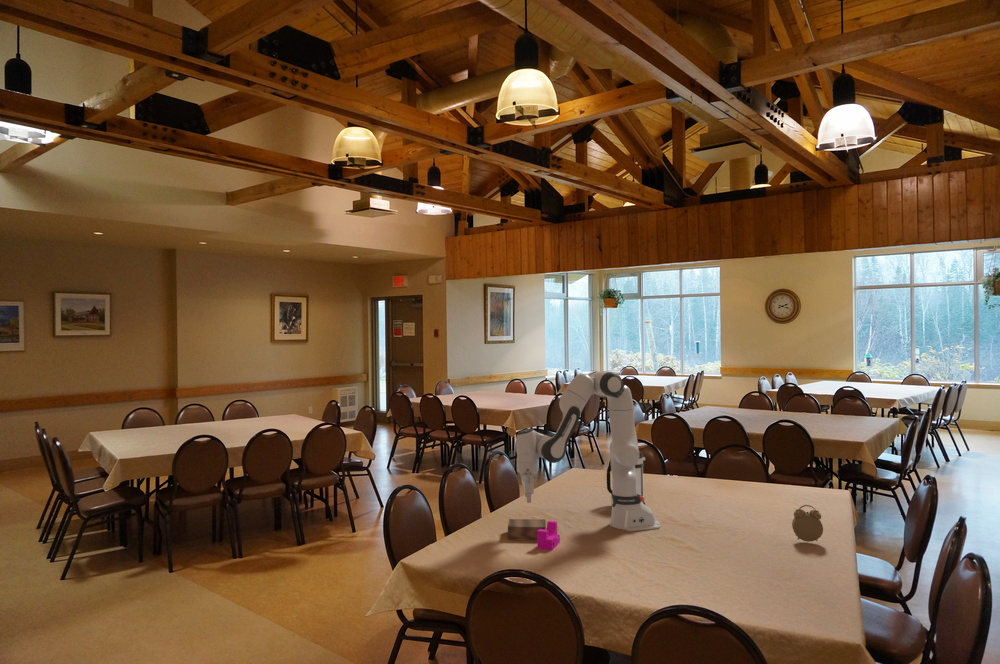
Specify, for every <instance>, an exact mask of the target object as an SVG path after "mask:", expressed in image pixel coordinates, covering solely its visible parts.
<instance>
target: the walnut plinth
mask: <svg viewBox="0 0 1000 664" xmlns="http://www.w3.org/2000/svg"><path fill="white" fill-rule="evenodd" d="M539 529H544V530H546V529H547V522H546V519H544V518H543V519H539V518H536V519H534V518H533V519H530V518H529V519H526V518H525V519H523V518H521V519H520V518H519V519H517V518H513V519H512V518H509V519H508V523H507V540H512V541H514V540H517V541H521V540H522V541H537V531H538V530H539Z"/></svg>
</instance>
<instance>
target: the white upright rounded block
mask: <svg viewBox="0 0 1000 664" xmlns="http://www.w3.org/2000/svg"><path fill="white" fill-rule="evenodd" d="M646 460H647V459H646V457H645V456H644V455H643V452H642V451H640V450H639V460H638V462H637V463H636V464H635V471H636V476H637V494H639V495H641V496H643V497H644V461H646ZM611 472H612V471H611V463H610V464H609V465H608V466H607V468H606V489H607V492H609V494H610V495H612V487H611V485H612V484H611V483H612V482H611ZM641 502H642V503H643V504H644V505H646V503H645V500H644V501H641Z"/></svg>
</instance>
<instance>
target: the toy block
mask: <svg viewBox="0 0 1000 664" xmlns="http://www.w3.org/2000/svg"><path fill="white" fill-rule="evenodd" d="M560 536H561V535H560V534H558V521H555V520H548V521H547V522H546V530H544V529H539V530H538V531H537V540H536V543H537V544H536V545H537V549H539V550H547V551H554V549H555V548H556V547H558V545H559V544H560V543H561V540H560V539H561V538H560Z"/></svg>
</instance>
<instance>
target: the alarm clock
mask: <svg viewBox="0 0 1000 664" xmlns="http://www.w3.org/2000/svg"><path fill="white" fill-rule="evenodd" d="M804 507H809V508H812V509H811V510H809V511H805V510H804V509H802V508H804ZM793 516H794V518H793V519H792V522H791V528H792V530H793V533H794V535H795V536H796V537H797V540H802V541H803V542H809V543H810V542H818V540H819V539H820V538H821V537H822V535H823V533H824V527H823V524H822V521H821V519H822V515H821V513H820V511H819V510H817V509H816V508H815V507H813V505H810V504H803V505H800V507H799V508H798V509H797V508H796V509H795V511H793Z"/></svg>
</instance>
